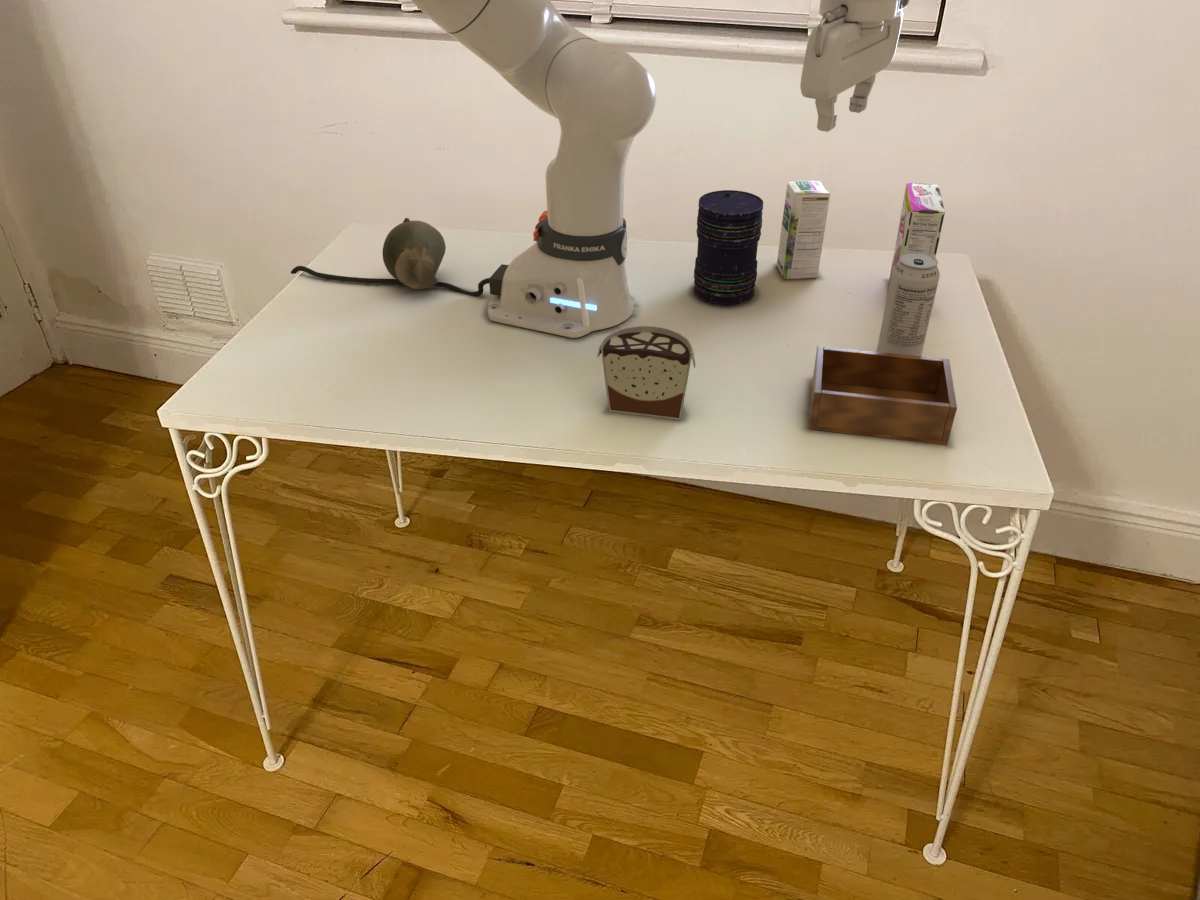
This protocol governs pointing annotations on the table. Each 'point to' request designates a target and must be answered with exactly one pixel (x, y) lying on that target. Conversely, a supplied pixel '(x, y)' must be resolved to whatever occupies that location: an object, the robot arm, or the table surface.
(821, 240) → the syrup box
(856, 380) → the wooden tray
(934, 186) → the candy bar box
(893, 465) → the table surface
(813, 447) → the table surface
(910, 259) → the energy drink can
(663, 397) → the food container
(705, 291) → the blue barrel
